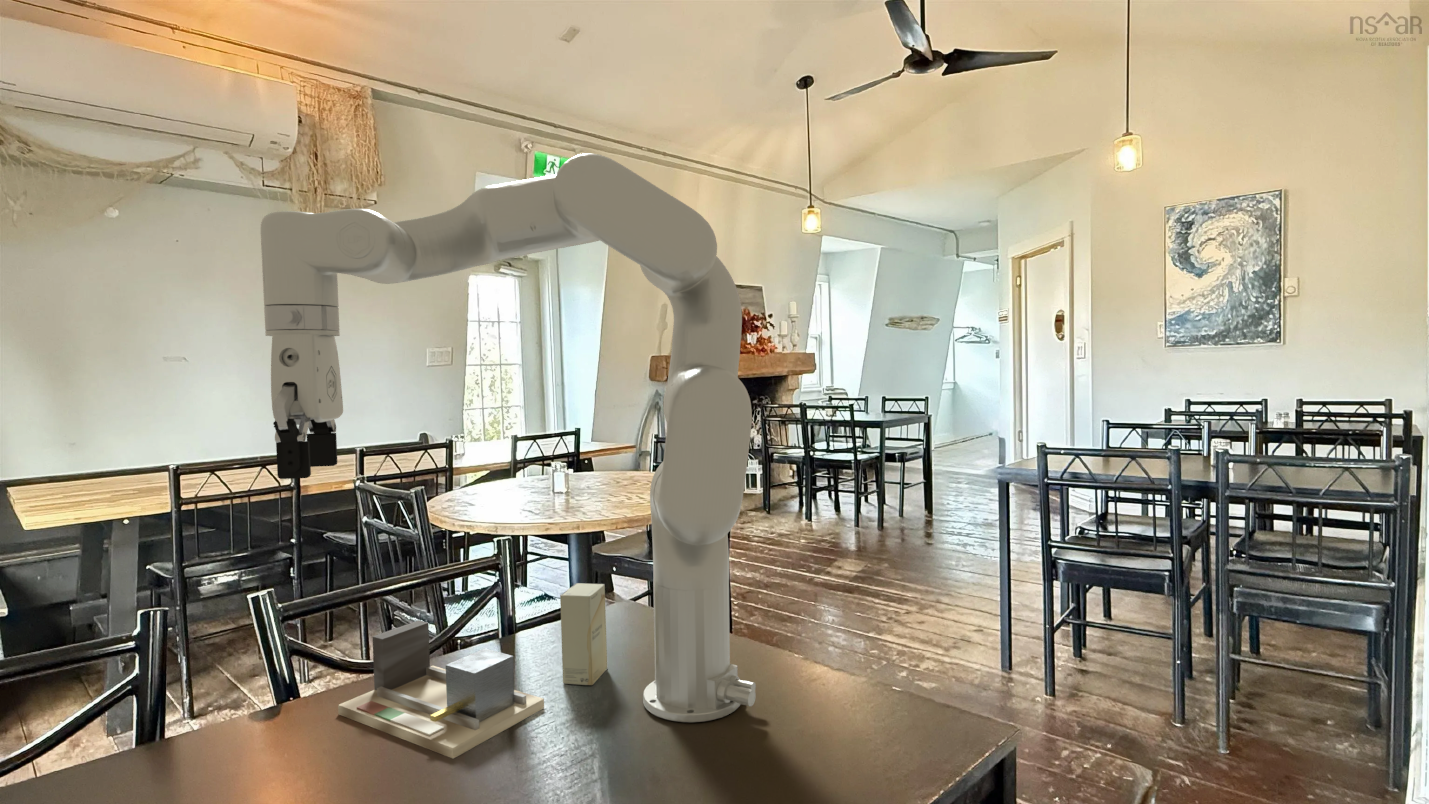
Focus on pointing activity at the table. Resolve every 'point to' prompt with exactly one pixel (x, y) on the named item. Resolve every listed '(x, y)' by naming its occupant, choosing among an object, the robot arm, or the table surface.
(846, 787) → the table surface
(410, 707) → the gauge board
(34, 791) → the table surface
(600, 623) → the skincare box
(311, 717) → the table surface
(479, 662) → the block
